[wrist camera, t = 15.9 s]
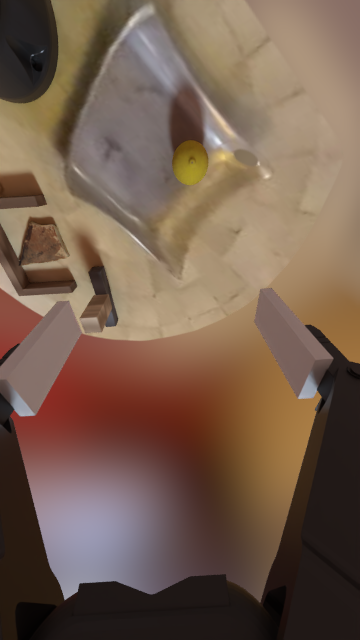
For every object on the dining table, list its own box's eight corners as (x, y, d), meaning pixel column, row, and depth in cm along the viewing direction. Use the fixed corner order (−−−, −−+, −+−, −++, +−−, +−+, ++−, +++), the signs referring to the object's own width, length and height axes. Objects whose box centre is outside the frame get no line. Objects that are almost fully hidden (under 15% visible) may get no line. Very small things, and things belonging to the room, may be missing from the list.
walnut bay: (-21, 198, 37) (-35, 200, 35) (43, 194, 37) (34, 196, 35) (26, 289, 48) (19, 296, 45) (77, 286, 48) (72, 292, 45)
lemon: (188, 134, 33) (192, 124, 27) (211, 164, 36) (220, 162, 29) (165, 165, 35) (164, 163, 29) (188, 191, 38) (191, 195, 31)
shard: (22, 263, 45) (17, 266, 43) (0, 225, 40) (-6, 227, 39) (71, 256, 44) (68, 259, 43) (54, 217, 40) (50, 219, 38)
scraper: (91, 267, 45) (69, 293, 35) (105, 266, 45) (87, 291, 35) (107, 319, 53) (93, 352, 44) (119, 319, 53) (108, 351, 44)
